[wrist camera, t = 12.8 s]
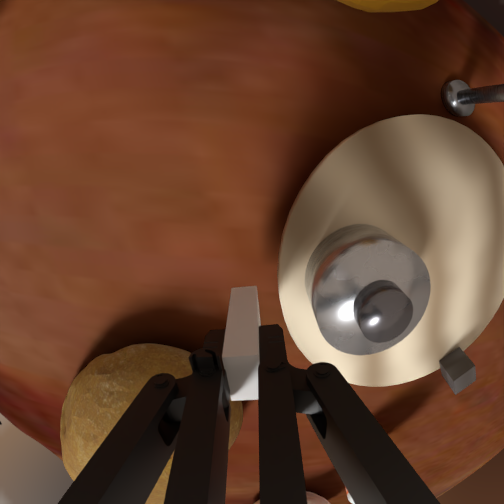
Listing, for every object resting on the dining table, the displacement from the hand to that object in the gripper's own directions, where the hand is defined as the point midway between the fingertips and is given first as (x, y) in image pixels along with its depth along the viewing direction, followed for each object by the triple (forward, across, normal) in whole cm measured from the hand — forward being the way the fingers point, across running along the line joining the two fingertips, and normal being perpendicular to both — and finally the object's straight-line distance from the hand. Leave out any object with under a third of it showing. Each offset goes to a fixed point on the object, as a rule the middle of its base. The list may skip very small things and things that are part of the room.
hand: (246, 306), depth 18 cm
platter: (+3, +13, 0) cm, 14 cm away
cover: (+1, +7, +1) cm, 7 cm away
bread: (+5, -16, -19) cm, 25 cm away
